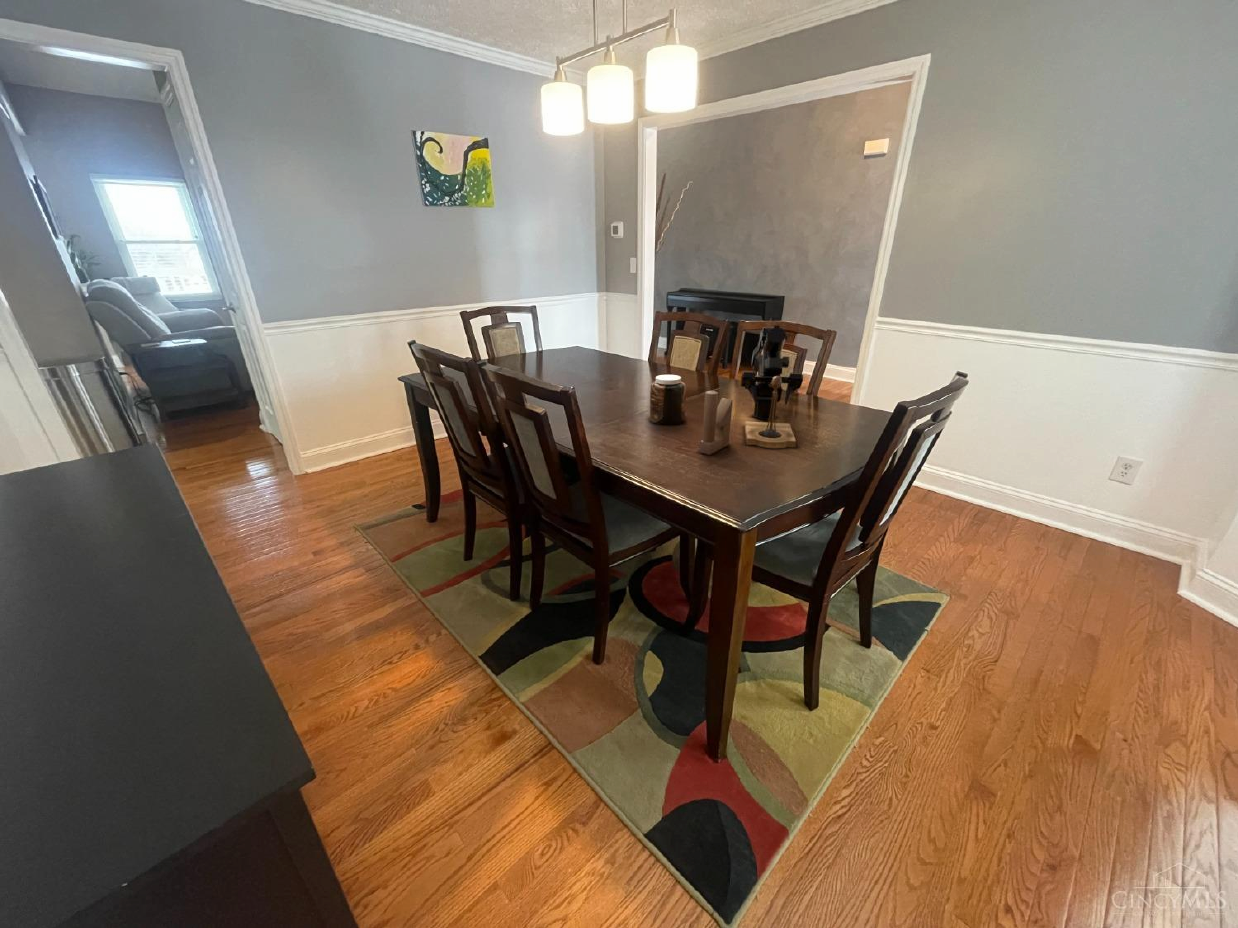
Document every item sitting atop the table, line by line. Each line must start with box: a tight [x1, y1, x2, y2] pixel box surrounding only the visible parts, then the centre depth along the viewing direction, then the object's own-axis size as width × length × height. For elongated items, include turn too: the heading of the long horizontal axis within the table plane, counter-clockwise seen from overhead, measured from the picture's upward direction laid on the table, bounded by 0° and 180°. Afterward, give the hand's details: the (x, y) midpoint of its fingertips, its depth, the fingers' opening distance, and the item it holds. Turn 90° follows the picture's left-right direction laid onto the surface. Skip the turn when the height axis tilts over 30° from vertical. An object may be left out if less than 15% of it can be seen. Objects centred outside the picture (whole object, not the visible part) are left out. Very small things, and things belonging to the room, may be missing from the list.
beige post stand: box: [699, 390, 733, 456], centre depth 142 cm, size 4×11×18 cm, turn 138°
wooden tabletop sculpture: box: [762, 376, 783, 438], centre depth 148 cm, size 6×5×20 cm
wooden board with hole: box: [744, 421, 797, 449], centre depth 153 cm, size 18×14×2 cm
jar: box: [649, 374, 687, 426], centre depth 167 cm, size 12×12×15 cm
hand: (770, 403), depth 155 cm, fingers open, 9 cm apart
